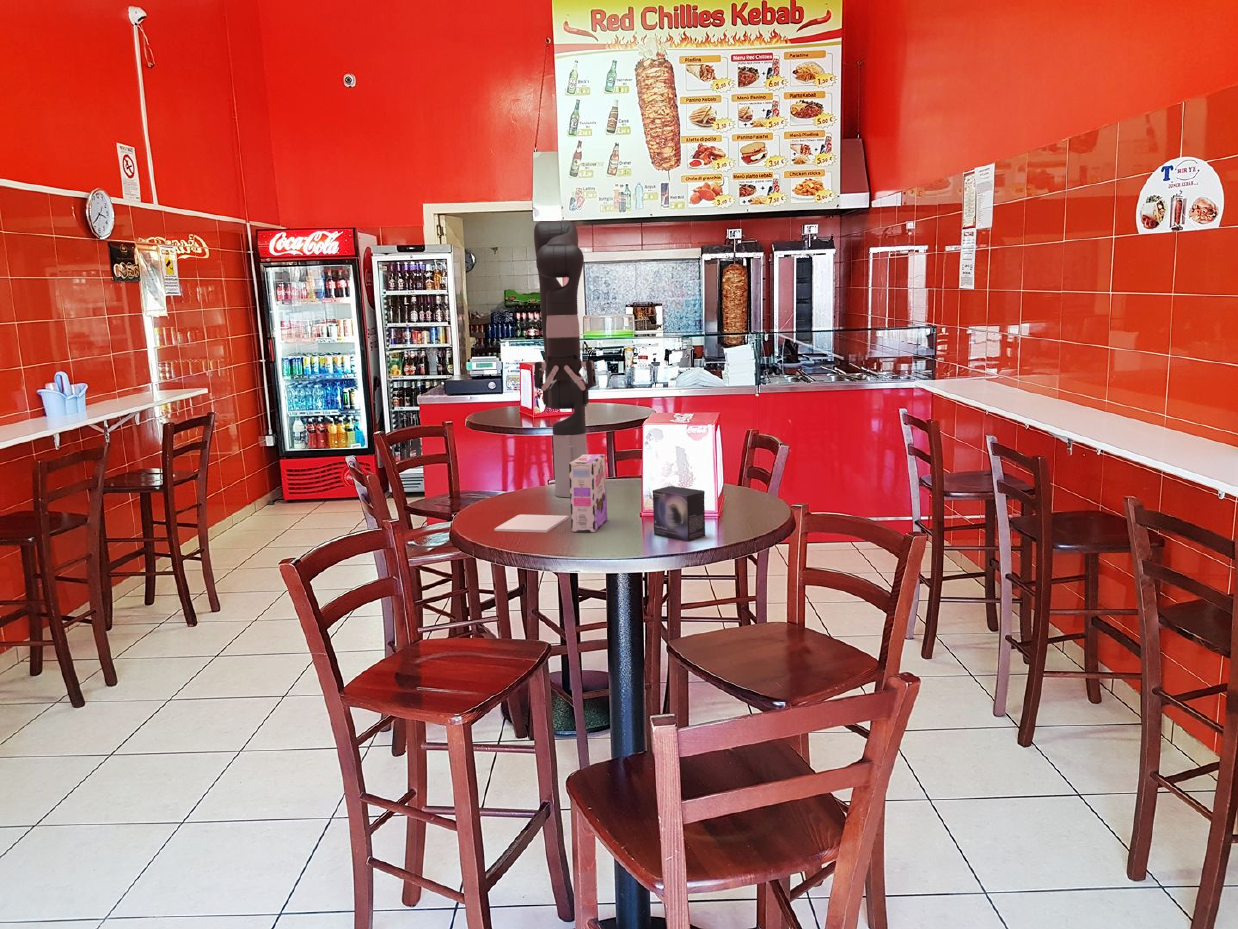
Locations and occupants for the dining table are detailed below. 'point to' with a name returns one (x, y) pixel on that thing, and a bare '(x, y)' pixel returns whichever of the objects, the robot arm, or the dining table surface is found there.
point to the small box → (679, 513)
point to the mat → (532, 523)
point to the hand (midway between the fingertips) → (566, 406)
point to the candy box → (588, 493)
